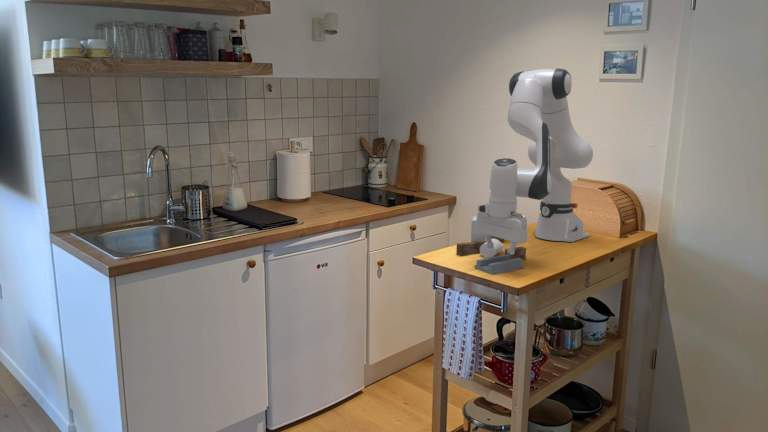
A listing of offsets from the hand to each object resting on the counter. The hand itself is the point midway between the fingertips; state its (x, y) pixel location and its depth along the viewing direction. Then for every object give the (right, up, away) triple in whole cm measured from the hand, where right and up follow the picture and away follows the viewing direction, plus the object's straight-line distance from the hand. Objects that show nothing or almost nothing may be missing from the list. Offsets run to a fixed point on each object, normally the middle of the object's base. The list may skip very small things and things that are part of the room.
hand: (500, 250), depth 201 cm
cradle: (0, -6, +1) cm, 6 cm away
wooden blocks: (-1, -3, +15) cm, 15 cm away
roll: (+1, -3, +19) cm, 19 cm away
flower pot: (+5, +1, +38) cm, 38 cm away
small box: (-2, 0, +31) cm, 31 cm away
